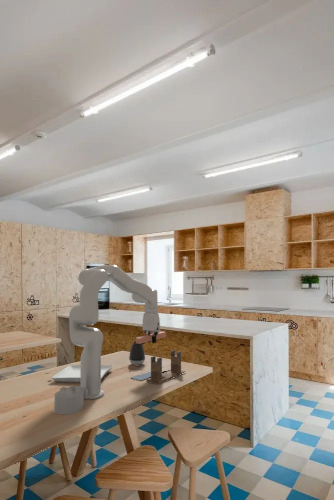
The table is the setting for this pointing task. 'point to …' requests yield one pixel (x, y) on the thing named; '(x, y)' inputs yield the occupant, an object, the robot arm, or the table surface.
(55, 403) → the lumpy-topped squat cylinder
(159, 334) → the rail
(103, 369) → the square plate
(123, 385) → the table surface
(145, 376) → the mat
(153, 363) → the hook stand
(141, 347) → the pump dispenser
